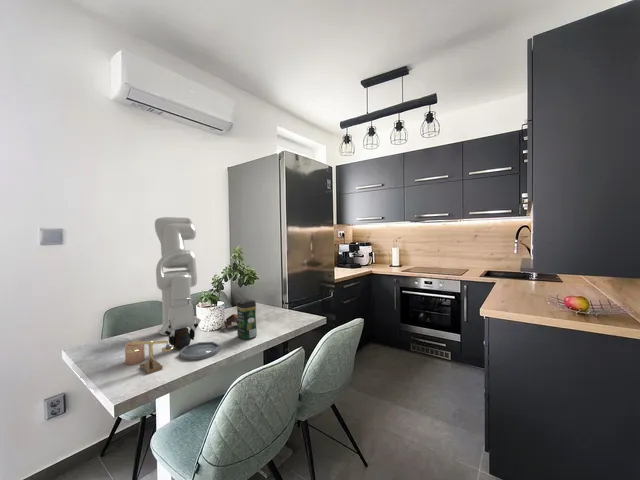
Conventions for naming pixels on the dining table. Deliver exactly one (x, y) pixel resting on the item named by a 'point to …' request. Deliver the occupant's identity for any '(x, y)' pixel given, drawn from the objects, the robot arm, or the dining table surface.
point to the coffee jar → (246, 318)
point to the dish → (199, 350)
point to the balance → (150, 356)
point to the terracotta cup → (137, 356)
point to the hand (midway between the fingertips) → (182, 341)
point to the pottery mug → (230, 320)
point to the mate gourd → (181, 338)
